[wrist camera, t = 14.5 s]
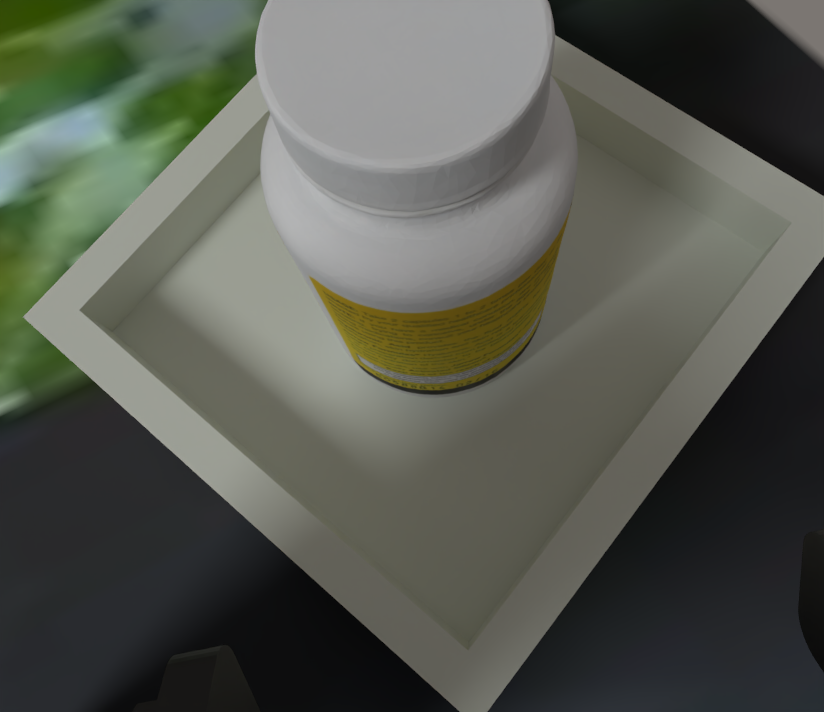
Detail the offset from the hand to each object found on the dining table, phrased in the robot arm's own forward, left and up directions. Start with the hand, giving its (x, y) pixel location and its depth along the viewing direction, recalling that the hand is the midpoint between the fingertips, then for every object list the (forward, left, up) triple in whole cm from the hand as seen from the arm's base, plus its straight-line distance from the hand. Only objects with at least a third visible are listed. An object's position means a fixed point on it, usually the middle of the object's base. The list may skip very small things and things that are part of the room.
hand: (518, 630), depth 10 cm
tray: (-6, +5, -8) cm, 11 cm away
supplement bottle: (-6, +5, -7) cm, 10 cm away
